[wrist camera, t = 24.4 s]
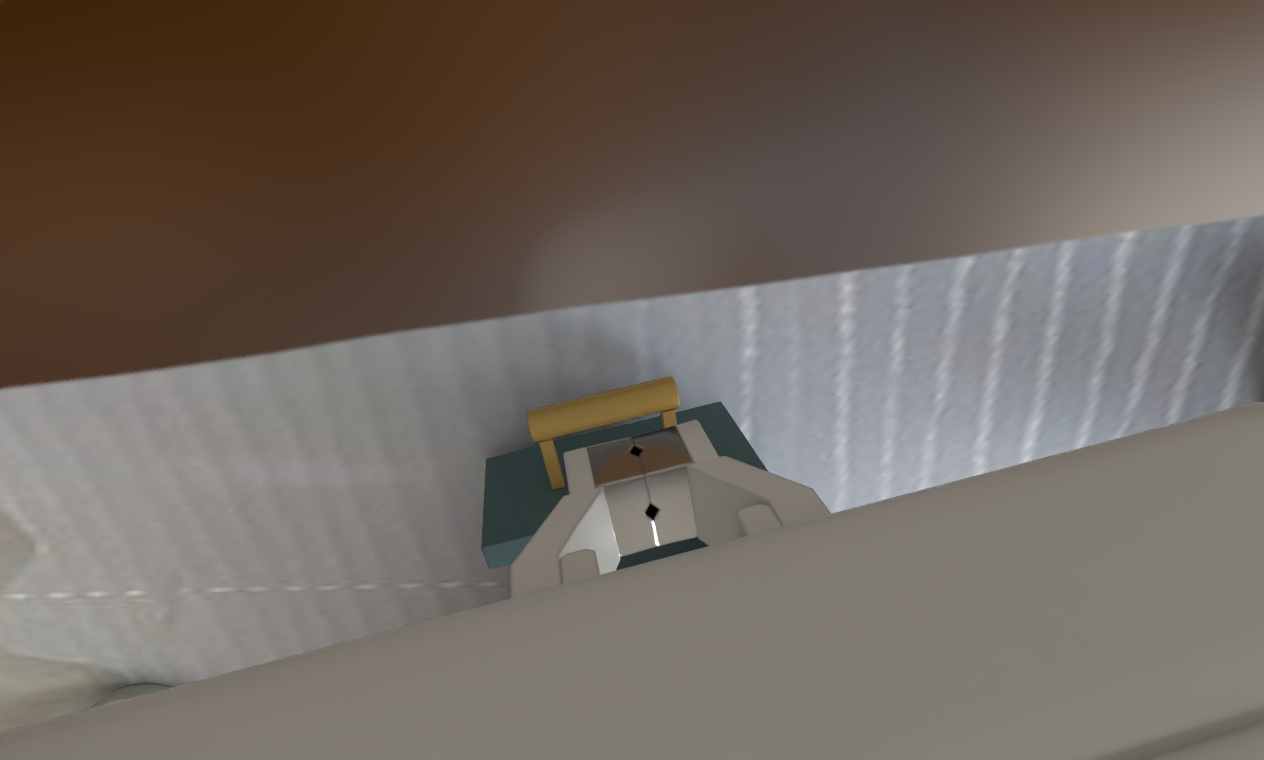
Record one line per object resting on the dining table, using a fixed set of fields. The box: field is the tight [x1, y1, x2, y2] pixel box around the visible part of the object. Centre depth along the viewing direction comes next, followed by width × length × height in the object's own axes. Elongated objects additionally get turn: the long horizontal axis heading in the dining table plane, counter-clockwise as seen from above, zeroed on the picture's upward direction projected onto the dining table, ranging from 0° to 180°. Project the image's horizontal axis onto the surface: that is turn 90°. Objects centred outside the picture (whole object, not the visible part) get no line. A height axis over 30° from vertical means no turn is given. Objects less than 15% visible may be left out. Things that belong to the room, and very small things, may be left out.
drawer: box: [481, 376, 768, 570], centre depth 32 cm, size 20×12×7 cm, turn 10°
